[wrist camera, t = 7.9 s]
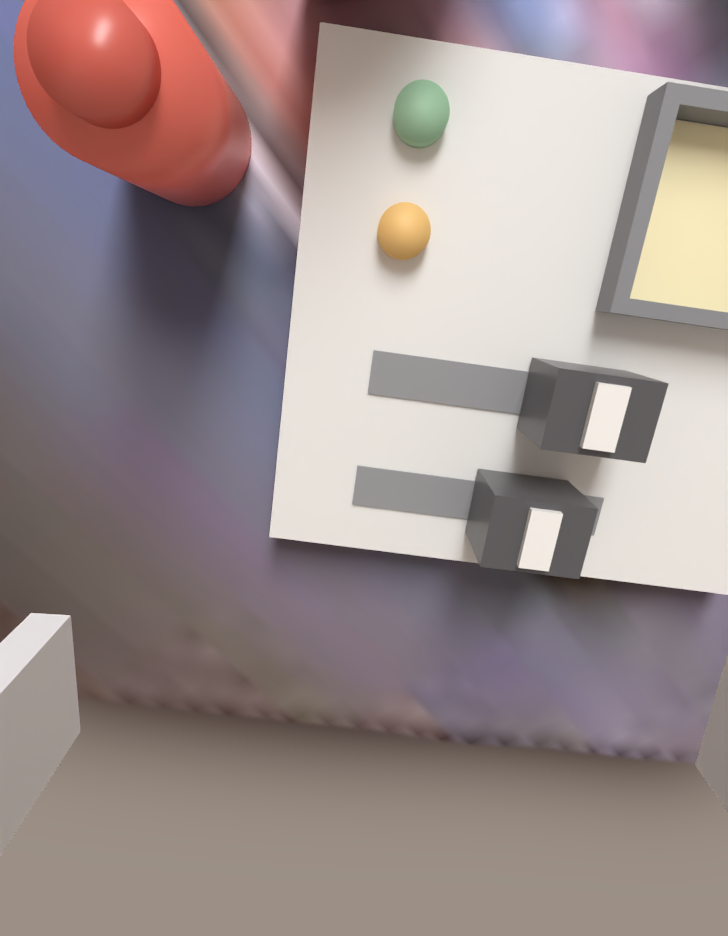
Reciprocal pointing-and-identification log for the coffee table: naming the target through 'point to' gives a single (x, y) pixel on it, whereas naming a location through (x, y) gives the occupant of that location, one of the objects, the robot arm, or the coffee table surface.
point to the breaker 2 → (529, 524)
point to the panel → (504, 298)
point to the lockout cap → (133, 95)
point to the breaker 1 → (590, 410)
